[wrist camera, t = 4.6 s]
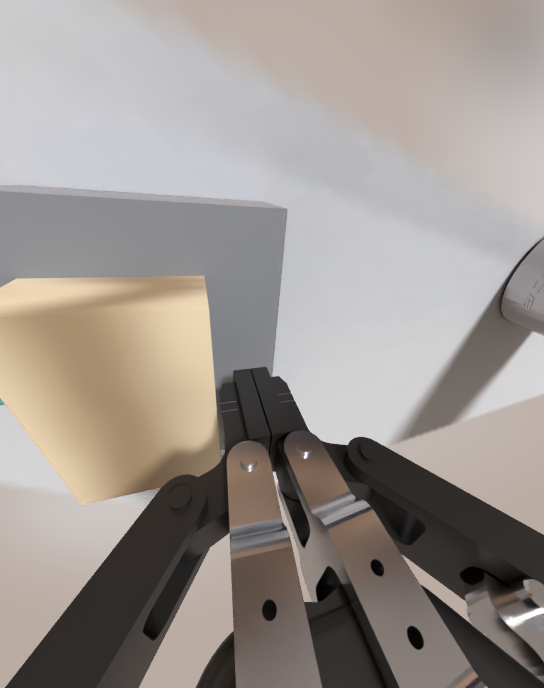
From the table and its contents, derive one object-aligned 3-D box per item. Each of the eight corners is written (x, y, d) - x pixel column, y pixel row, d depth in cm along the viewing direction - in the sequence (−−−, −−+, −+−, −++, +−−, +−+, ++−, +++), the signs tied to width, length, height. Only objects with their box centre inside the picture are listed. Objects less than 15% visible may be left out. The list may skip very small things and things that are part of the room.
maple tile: (204, 275, 10) (208, 306, 7) (216, 424, 14) (221, 473, 12) (16, 278, 8) (-59, 320, 6) (101, 444, 13) (81, 505, 10)
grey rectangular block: (262, 201, 12) (287, 208, 9) (254, 398, 20) (266, 440, 17) (19, 185, 10) (-67, 186, 6) (116, 419, 17) (99, 473, 14)
